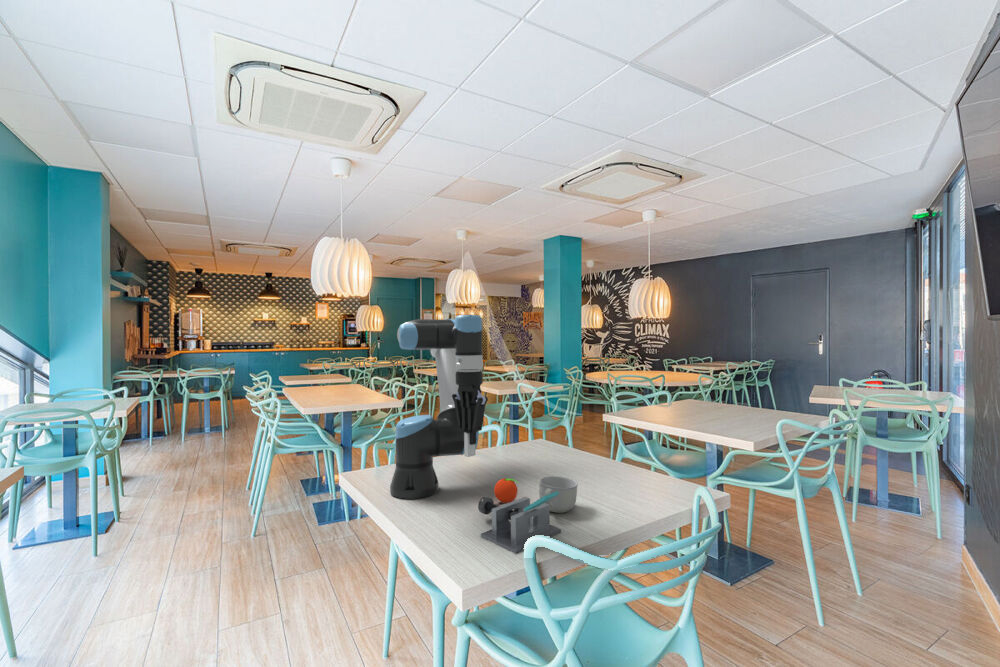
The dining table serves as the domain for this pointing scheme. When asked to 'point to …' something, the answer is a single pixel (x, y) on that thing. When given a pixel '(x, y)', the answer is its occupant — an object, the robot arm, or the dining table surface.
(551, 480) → the teacup
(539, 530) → the bracket
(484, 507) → the pin
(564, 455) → the dining table surface
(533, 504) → the plate
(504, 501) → the clementine
